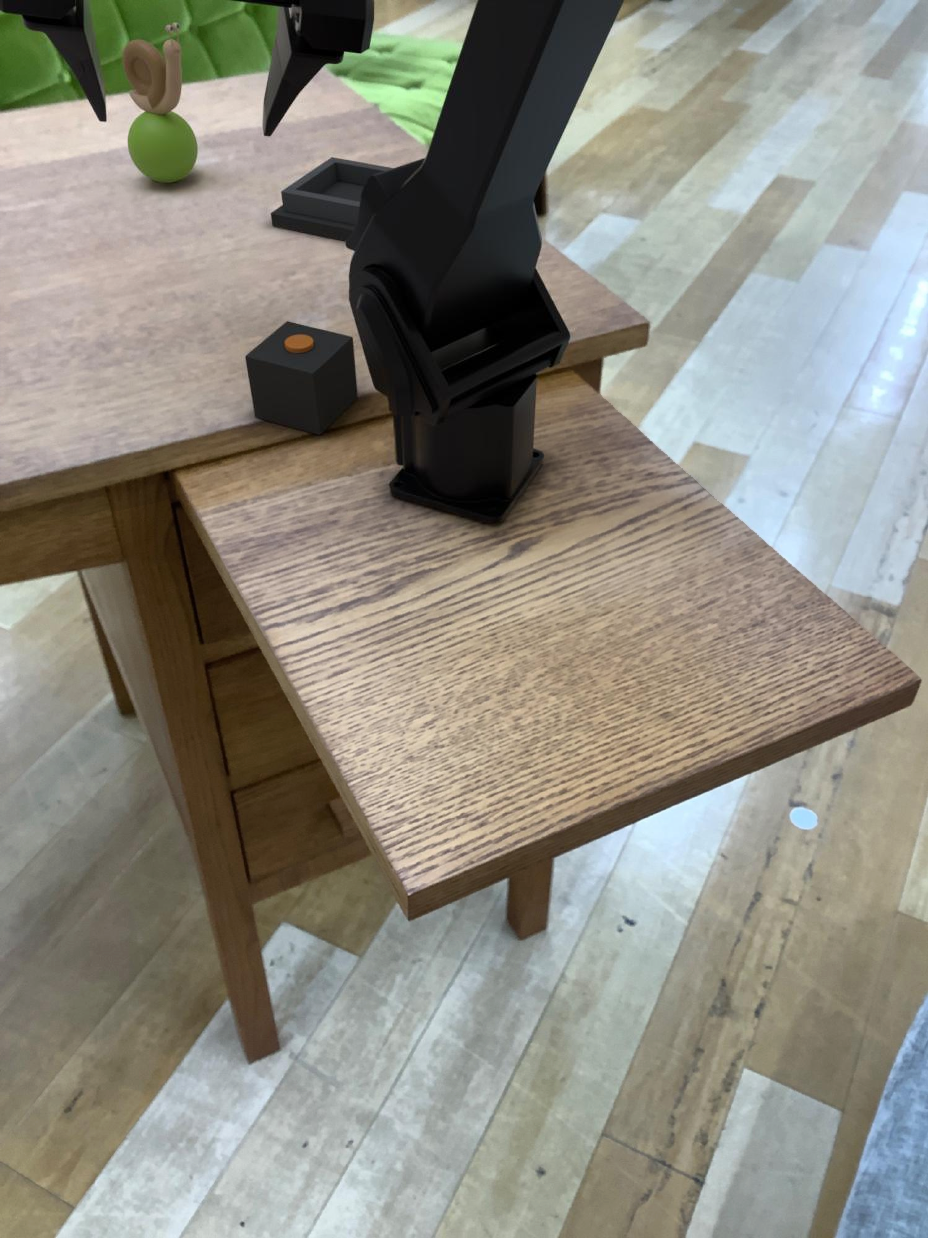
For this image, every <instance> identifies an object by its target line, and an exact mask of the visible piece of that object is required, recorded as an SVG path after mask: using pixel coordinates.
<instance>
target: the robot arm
mask: <svg viewBox="0 0 928 1238" xmlns="http://www.w3.org/2000/svg"><path fill="white" fill-rule="evenodd" d="M89 1H90V0H0V12H2V13H4V14H11V15H20V16H21V20H22V24H23V26H24V27H25V28H26V29H28V30H30V31H33V32H38V33H43V34H44V35H46V37H47V38H48V40H49V41H50V43H51V44H52V45H53V46H54V48H55V49H56V50H57V52H58V53H59V55H60V56H61V57H62V59H63V60H64V61H65V63H66V64H67V66H68V67H69V69H70V71H72V73H73V75H74V77H75V79H76V80H77V82H78V84H79V86H80V88H81V90H82V91H83V94H84V95H85V97H86V99H87V101H88V103H89V105H90V107H91V108H92V110H93V112H94V114H95V116H96V118H97V120H98V121H99V122H102V123H106V122H107V121H108V120H107V118H108V117H107V115H108V114H107V101H106V100H107V98H106V86H105V85H106V84H105V79H104V74H103V73H104V72H103V68H102V64H101V59H100V53H99V49H98V43H97V38H96V33H95V29H94V23H93V18H92V14H91V7H90V2H89ZM230 1H232V2H239V3H240V2H241V3H249V4H258V5H263V6H264V5H265V6H272V7H278V8H277V22H276V23H277V24H276V31H275V37H274V43H273V48H272V53H271V59H270V64H269V70H268V75H267V80H266V86H265V92H264V97H263V104H262V106H263V107H262V132H263V136H264V137H269V138H270V137H272V135H273V134H274V132H275V130H276V129H277V128H278V126H279V125H280V123H281V121H282V120H283V118H284V117H285V115H286V114H287V112H288V111H289V109H290V108H291V107H292V105H293V103H294V101H295V100H296V99H297V98H298V96H299V95H300V94H301V92H302V91H303V90H304V89H305V88H306V86H307V85H308V84H309V83H310V82H311V81H312V80H313V79H314V78H315V76H316V75H317V74H318V73H319V72H320V71H321V70H322V69H323V68H324V67H325V66H326V65H339V64H341V63H342V62H343V61H344V57H345V53H350V54H359V55H360V54H363V53H364V52H366V51H368V50H369V49H370V48H371V41H372V35H373V30H374V29H373V28H374V23H375V0H230ZM624 2H625V0H476V3H475V7H474V9H473V12H472V15H471V19H470V22H469V25H468V28H467V31H466V34H465V37H464V39H463V43H462V47H461V49H460V52H459V54H458V58H457V61H456V63H455V68H454V70H453V74H452V77H451V79H450V82H449V85H448V88H447V91H446V94H445V97H444V100H443V104H442V107H441V110H440V113H439V116H438V119H437V121H436V125H435V128H434V131H433V134H432V137H431V141H430V143H429V146H428V149H427V152H426V155H425V157H423V158H419V159H417V160H414V161H411V162H407V163H405V164H402V165H399V166H395V167H392V168H393V169H390V170H387V171H384V172H381V173H378V174H375V175H372V176H370V177H369V179H368V181H367V183H366V185H365V187H364V189H363V191H362V193H361V197H360V206H359V214H358V220H357V224H356V226H355V229H354V231H353V233H352V235H351V236H350V237H349V238H348V239H347V240H346V241H344V244H345V247H346V248H347V249H348V250H350V251H353V253H352V256H351V259H350V264H349V271H348V286H349V287H348V301H349V305H350V309H351V314H352V316H353V319H354V320H353V321H354V323H355V327H356V330H357V333H358V338H359V340H360V344H361V348H362V351H363V355H364V359H365V361H366V365H367V369H368V372H369V375H370V378H371V382H372V386H373V388H374V389H375V390H376V391H377V392H378V393H380V394H382V395H383V396H384V397H386V398H387V401H388V412H390V413H392V423H393V441H394V458H395V462H396V464H397V466H400V467H402V468H400V470H399V471H398V473H396V475H394V477H393V478H392V479H391V481H390V482H389V484H388V491H389V494H390V495H391V496H393V497H396V498H400V499H402V500H403V499H404V500H407V501H411V502H413V503H417V504H421V505H425V506H428V507H431V508H435V509H438V510H441V511H446V512H448V513H452V514H456V515H459V516H463V517H466V518H468V519H473V520H477V521H480V522H484V523H487V524H490V525H498V524H499V525H500V524H501V523H502V522H503V521H504V520H505V519H506V518H507V516H508V514H509V513H510V512H511V510H512V508H513V507H514V506H515V504H516V503H517V502H518V500H519V498H520V497H521V496H522V494H523V493H524V491H525V490H526V488H527V487H528V486H529V484H530V482H531V481H532V480H533V478H534V477H535V475H536V474H537V472H538V471H539V469H541V467H542V466H543V464H544V461H545V454H544V452H543V451H542V450H539V449H536V448H534V442H535V440H534V439H535V425H536V424H535V423H536V405H537V404H536V403H537V387H538V386H537V384H538V375H537V373H540V372H541V371H544V370H545V369H547V368H550V369H551V368H553V367H556V366H558V365H559V364H560V363H561V361H562V359H563V356H564V354H565V352H566V350H567V348H568V344H569V343H570V342H569V341H570V340H571V333H570V331H569V329H568V327H567V325H566V323H565V321H564V319H563V317H562V315H561V313H560V312H559V310H558V308H557V305H556V303H555V301H554V300H553V298H552V296H551V294H550V292H549V290H548V288H547V287H546V284H545V282H544V281H543V279H542V277H541V275H540V274H539V273H540V272H538V269H537V264H538V261H539V258H540V254H541V250H542V246H543V236H542V232H541V228H540V223H539V219H538V215H537V210H536V206H535V198H536V194H537V191H538V189H539V187H540V185H541V183H542V180H543V178H544V176H545V174H546V172H547V170H548V167H549V165H550V163H551V161H552V159H553V156H554V155H555V152H556V150H557V148H558V145H559V144H560V141H561V139H562V137H563V135H564V133H565V130H566V129H567V126H568V124H569V122H570V119H571V118H572V116H573V113H574V111H575V109H576V107H577V105H578V102H579V100H580V98H581V96H582V93H583V91H584V89H585V87H586V84H587V82H588V81H589V78H590V77H591V74H592V72H593V69H594V67H595V65H596V63H597V61H598V58H599V57H600V54H601V52H602V50H603V48H604V45H605V44H606V42H607V39H608V37H609V35H610V32H611V30H612V28H613V26H614V24H615V22H616V19H617V17H618V15H619V14H620V10H621V8H622V6H623V4H624Z"/></svg>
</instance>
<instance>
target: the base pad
mask: <svg viewBox="0 0 928 1238" xmlns="http://www.w3.org/2000/svg"><path fill="white" fill-rule="evenodd" d="M393 168H394V167H389V166H384V165H378V164H371V163H367V162H361V161H355V160H351V159H345V158H340V157H334V156H331V157H330V158H328V159H327V160H325V161H324V162H322V163H320V164H319V165H318V166H316V167H315V168H313V169H311V171H309V172H308V173H306V174H305V175H303V176H302V177H300V178H298V179H297V180H295V181H294V182H292V183H291V184H289V185H288V186H287V187H286V188H284V189H282V190H281V191H280V194H281V202H282V205H280V206H279V207H277V208H276V209H274V210H273V211H271V212H270V219H271V225H272V227H277V228H281V229H286V230H291V231H296V232H300V233H306V234H310V235H315V236H319V237H325V238H329V239H334V240H338V241H344V242H345V241H346V240H347V239H348V238H349V237H350V236H351V235H352V233H353V231H354V229H355V226H356V224H357V220H358V214H359V206H360V197H361V193H362V191H363V189H364V187H365V185H366V183H367V181H368V179H369V177H370V176H372V175H375V174H378V173H381V172H384V171H387V170H390V169H393Z"/></svg>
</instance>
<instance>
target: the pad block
mask: <svg viewBox="0 0 928 1238" xmlns="http://www.w3.org/2000/svg"><path fill="white" fill-rule="evenodd" d="M354 348H355V347H354V337H353V336H352V335H351V336H350V335H346V334H344V333H343V334H342V333H338V332H334V331H330V330H326V329H322V328H318V327H313V326H309V325H304V324H301V323H296V322H294V321H288V320H287V321H285V322H284V323H283V324H281V326H279V327H278V328H277V329H275V331H273V332H272V333H271V334H270V335H268V336H267V337H266V338H265V339H264V340H263V341H261V342H260V343H259V344H257V346H255V347H254V348H253V349H252V350H250V351H249V352H248V353H247V354H246V355H245V356H244V359H245V364H246V369H247V376H248V383H249V388H250V393H251V394H250V395H251V401H252V407H253V412H254V413H253V414H254V417H255V418H256V419H259V420H263V421H266V422H270V423H274V424H277V425H282V426H285V427H288V428H292V429H296V430H300V431H303V432H307V433H310V434H314V435H318V436H322V434H324V432H325V431H326V430H328V428H330V426H331V425H332V424H333V423H334V422H335V421H336V420H337V419H338V418H339V417H340V416H341V415H342V414H343V413H344V412H345V411H346V410H347V409H348V408H349V407H350V406H351V405H352V404H353V403H354V402H355V401H356V400H357V399H358V398H359V396H358V394H359V393H358V383H357V372H356V371H357V370H356V361H355V360H356V359H355V349H354Z"/></svg>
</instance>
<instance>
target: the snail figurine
mask: <svg viewBox="0 0 928 1238" xmlns="http://www.w3.org/2000/svg"><path fill="white" fill-rule="evenodd" d="M179 30H180V24H179V23H178V22H176V21H175V22H174V21H173V23H172V25H171V24H167V25H166V26H165V32H167V33H168V34H169V36H170V39H167V40H165V41H164V43H163V45H162V51H163V55H164V57H165V58H164V57H163V55H162V53H161V52H160V51H159V50H158V49H157V48H156V47H155V46H154V45H153V44H152V43H150V42H148V41H147V40H145V39H133V40H130V41H129V42H127V43H126V45H125V47H124V49H123V51H122V57H121V58H122V61H121V62H122V69H123V72H124V74H125V77H126V79H127V81H128V83H129V84H130V86H131V87H132V89H131V90H129V92H128V93H129V96H130V99H132V101H133V102H134V104H135V105H136V106H137V107H138V108H139V109H140V110H142V111H144V112H142V113H140V114H139V115H138V116H137V117H136V118H135V119H134V120H133V122H132V123H131V125H130V127H129V130H128V134H127V149H128V154H129V156H130V159H131V161H132V162H133V164H134V166H135V167H136V168H137V169H138V171H139V172H140V173H141V174H143V175H144V176H145V177H147V178H148V179H150V180H152V181H155V182H158V183H165V184H167V183H168V184H169V183H175V182H178V181H181V180H182V179H184V178H186V177H187V176H188V175H189V174H190V173H191V172H192V170H193V169H194V167H195V165H196V163H197V159H198V153H199V152H198V151H199V147H198V141H197V140H198V139H197V137H196V135H195V132H194V130H193V128H192V127H191V125H190V123H188V121H187V120H186V119H184V118H183V117H182V116H181V115H180V114H178V113H177V112H175V111H173V110H175V109H176V107H177V106H178V104H179V103H180V100H181V95H182V87H183V71H182V63H181V62H182V61H181V59H182V55H183V51H182V46H181V44H180V42H179V41H180V40H179V39H180V38H179V33H178V31H179ZM174 31H175V33H176V38H177V39H176V40H175V39H173V37H172V36H173V35H172V33H173V32H174Z"/></svg>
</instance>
